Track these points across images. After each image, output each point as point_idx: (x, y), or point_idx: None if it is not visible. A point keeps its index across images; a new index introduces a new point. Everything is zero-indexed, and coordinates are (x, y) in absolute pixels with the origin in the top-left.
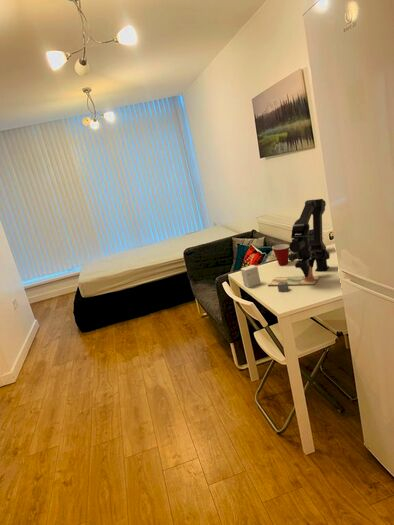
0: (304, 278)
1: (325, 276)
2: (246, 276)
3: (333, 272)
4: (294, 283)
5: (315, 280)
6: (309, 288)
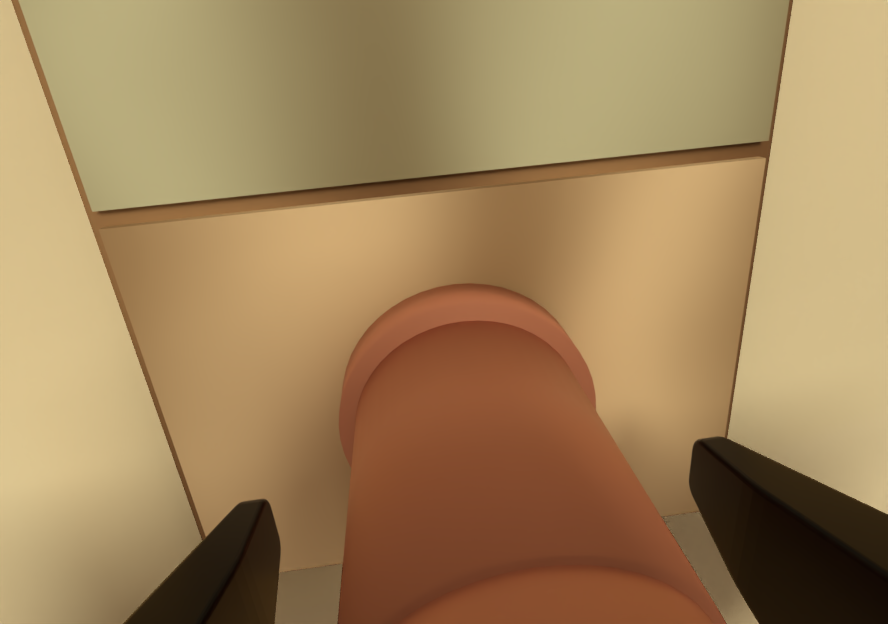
0: (427, 315)
1: (708, 555)
2: None
3: None
4: (110, 63)
5: None
6: (24, 533)
